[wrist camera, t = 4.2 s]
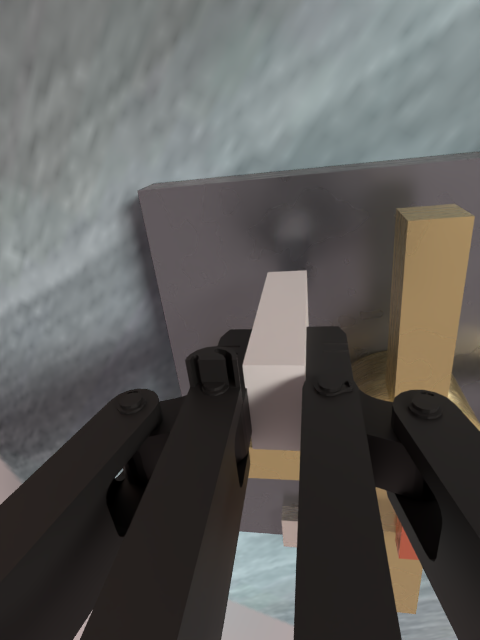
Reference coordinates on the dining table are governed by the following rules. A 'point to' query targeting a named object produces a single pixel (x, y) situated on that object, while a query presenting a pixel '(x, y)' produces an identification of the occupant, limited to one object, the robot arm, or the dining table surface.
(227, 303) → the stand
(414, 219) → the capstan
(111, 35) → the dining table surface
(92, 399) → the dining table surface
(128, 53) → the dining table surface
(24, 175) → the dining table surface
